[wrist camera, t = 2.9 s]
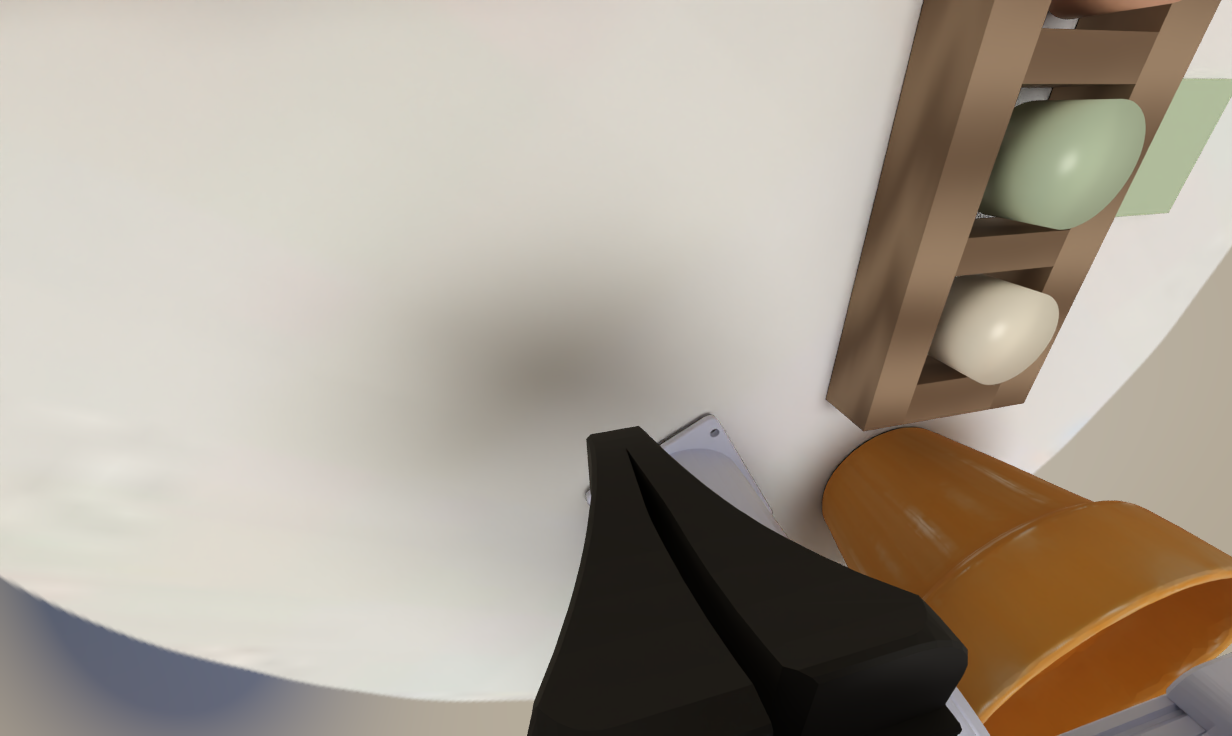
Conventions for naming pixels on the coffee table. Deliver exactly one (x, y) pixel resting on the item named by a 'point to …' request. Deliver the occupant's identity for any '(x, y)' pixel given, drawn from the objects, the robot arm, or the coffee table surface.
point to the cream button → (993, 328)
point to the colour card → (1176, 146)
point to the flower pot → (1032, 579)
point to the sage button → (1064, 160)
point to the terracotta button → (1098, 7)
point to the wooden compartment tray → (957, 178)
